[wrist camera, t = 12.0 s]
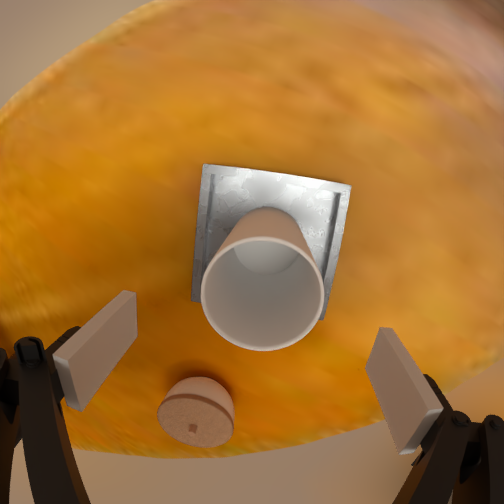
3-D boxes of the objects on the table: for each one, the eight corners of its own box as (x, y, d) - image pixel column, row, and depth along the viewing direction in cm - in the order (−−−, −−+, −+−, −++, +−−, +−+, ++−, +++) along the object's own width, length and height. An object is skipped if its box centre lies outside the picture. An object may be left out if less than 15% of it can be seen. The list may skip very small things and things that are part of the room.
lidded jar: (160, 371, 42) (138, 410, 33) (222, 357, 41) (209, 401, 32) (190, 417, 45) (177, 457, 36) (249, 407, 43) (244, 451, 34)
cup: (218, 251, 35) (179, 312, 20) (256, 192, 33) (242, 211, 18) (276, 288, 36) (277, 369, 21) (316, 232, 34) (349, 282, 19)
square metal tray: (196, 291, 38) (191, 300, 35) (209, 164, 34) (203, 163, 31) (320, 309, 38) (323, 320, 35) (344, 184, 33) (351, 185, 30)
